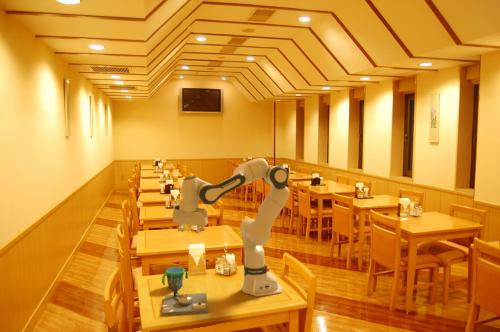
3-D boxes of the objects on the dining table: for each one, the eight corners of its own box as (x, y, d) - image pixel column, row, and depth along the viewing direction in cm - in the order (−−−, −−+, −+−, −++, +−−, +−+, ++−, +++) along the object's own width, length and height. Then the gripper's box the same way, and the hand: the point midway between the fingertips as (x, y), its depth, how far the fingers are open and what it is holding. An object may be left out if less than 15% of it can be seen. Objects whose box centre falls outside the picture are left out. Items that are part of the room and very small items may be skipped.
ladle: (195, 303, 205) (194, 291, 205) (182, 306, 201) (182, 294, 200) (180, 293, 217) (180, 282, 216) (168, 296, 213) (168, 285, 212)
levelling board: (206, 295, 218) (206, 288, 218) (208, 313, 199) (207, 304, 198) (163, 298, 215) (163, 290, 215) (161, 316, 195) (160, 307, 195)
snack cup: (184, 281, 238) (183, 264, 237) (191, 287, 230) (191, 270, 229) (158, 287, 230) (158, 270, 229) (165, 293, 221) (165, 275, 220)
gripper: (210, 207, 214) (209, 233, 215) (177, 204, 222) (177, 228, 224) (204, 209, 208) (203, 236, 210) (170, 206, 216) (170, 231, 218)
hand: (189, 232), depth 217 cm, fingers open, 8 cm apart
